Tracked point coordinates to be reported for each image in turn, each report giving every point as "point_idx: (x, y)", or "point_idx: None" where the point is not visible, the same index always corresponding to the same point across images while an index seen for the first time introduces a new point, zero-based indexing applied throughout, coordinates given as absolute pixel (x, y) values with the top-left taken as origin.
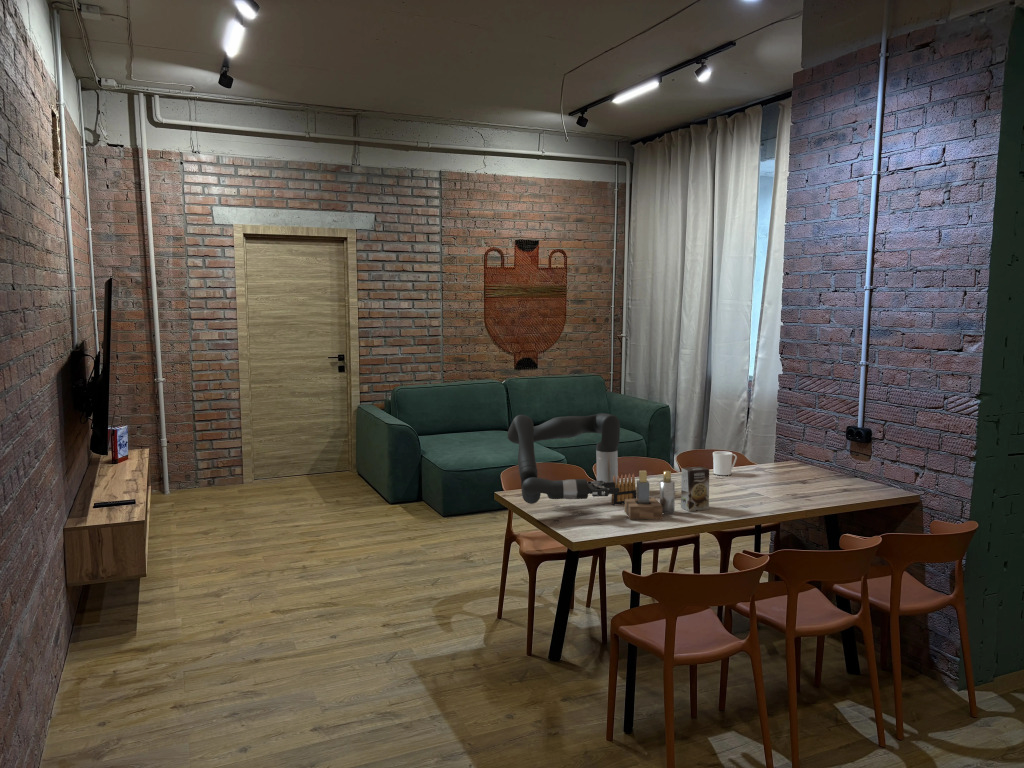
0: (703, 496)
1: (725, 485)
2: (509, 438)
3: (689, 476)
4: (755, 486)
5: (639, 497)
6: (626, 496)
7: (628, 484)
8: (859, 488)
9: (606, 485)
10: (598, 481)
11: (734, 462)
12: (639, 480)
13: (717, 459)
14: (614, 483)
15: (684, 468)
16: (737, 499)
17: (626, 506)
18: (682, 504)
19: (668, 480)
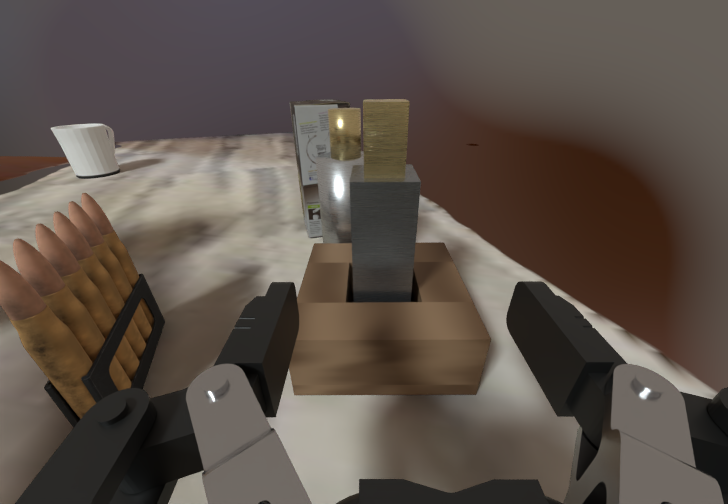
0: None
1: (176, 179)
2: None
3: None
4: (216, 165)
5: (412, 264)
6: (135, 332)
7: (104, 267)
8: (287, 138)
9: (271, 381)
10: (92, 479)
11: (113, 142)
12: (372, 173)
13: (83, 140)
14: (293, 290)
15: (305, 104)
16: (282, 182)
17: (353, 363)
18: (317, 226)
19: (360, 146)
